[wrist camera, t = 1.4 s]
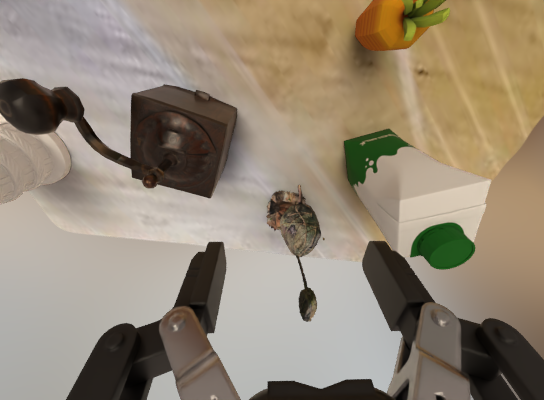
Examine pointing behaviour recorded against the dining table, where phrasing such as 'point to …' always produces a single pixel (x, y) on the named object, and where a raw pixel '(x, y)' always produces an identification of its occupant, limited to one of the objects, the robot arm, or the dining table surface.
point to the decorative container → (29, 161)
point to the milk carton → (417, 198)
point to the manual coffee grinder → (139, 131)
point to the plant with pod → (296, 236)
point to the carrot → (397, 23)
